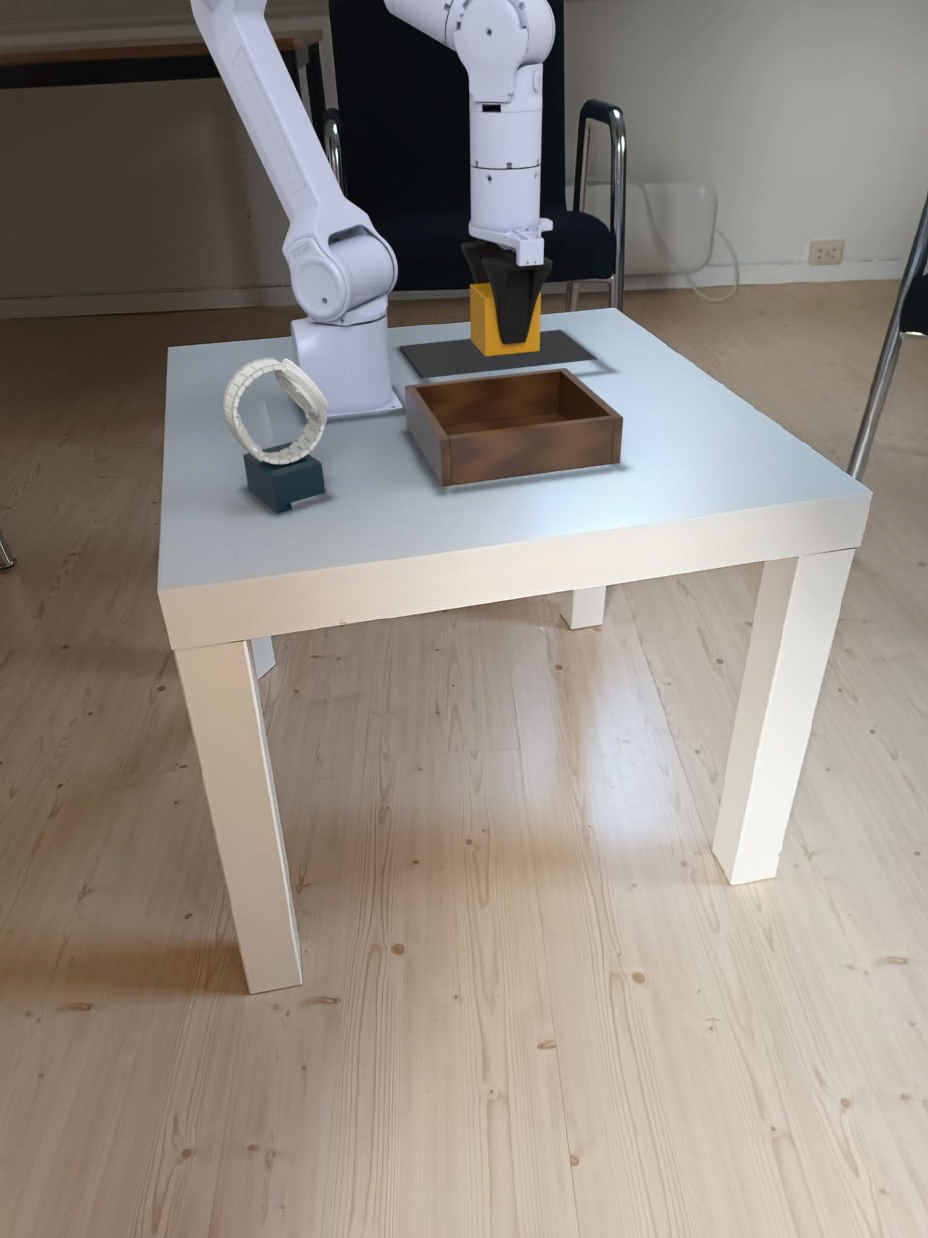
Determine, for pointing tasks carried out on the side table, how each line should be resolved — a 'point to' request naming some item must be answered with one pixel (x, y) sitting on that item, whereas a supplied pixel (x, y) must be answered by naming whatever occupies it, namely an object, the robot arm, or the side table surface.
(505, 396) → the box
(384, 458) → the side table surface
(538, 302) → the cube
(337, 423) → the side table surface
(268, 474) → the watch
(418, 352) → the mat
